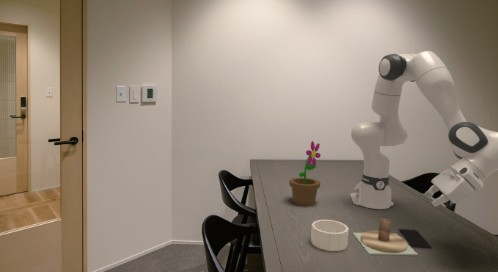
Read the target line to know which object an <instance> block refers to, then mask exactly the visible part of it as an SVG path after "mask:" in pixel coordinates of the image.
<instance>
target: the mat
mask: <svg viewBox="0 0 498 272" xmlns="http://www.w3.org/2000/svg"><path fill="white" fill-rule="evenodd" d="M362 233H363V232H352V235H353V236H354V237H355V238H357V239H356V240H357V242H358V243H361V244H360V245H361V246H362V248H363V247H364V248H363V249H364V250H365V252H366V253H367V254H368V255H372V256H373V255H374V256H375V255H376V256H417V257H418V255H419V254H418V252H416V251H415V249H414V248H411V247H410V246H409V245H408V244H407V249H406V250H405V251H403V252H399V253H388V252H382V251H378V250H374V249H372V248H369V247H368V246H366V245H364V244H363V243H362V242H361V234H362ZM392 233H393V232H392ZM393 234H395V235H398V234H397V233H393Z"/></svg>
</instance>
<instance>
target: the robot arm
mask: <svg viewBox="0 0 498 272" xmlns="http://www.w3.org/2000/svg"><path fill="white" fill-rule="evenodd" d="M378 72H379V74H378V77H377V80H376V83H375V86H374V91H373V95H372V96H373V97H372V101H371V109H372V111H373V113H375V114H377V115H378V116H379V121H372V122H371V121H365V122H360V123H356V124H354V125H353V127H352V129H351V133H350V135H351V139H352V142H353V143H354V144H355V145H357V147H359V149H360V150H361V153H362V157H363V173H362V175H361V179H360V181H359V183H357V184H356V186H355V187H353V189H352V190H353V192H352V193H350V194H349V195H350V198H351V201H352V203H353V204H354V205H355V206H360V207H365V208H369V209H375V210H387V209H389V208H390V207H392V206H394V204H395V203H394V202H393V201H392V188H391V186H389V185H390V176H389V175H390V165H391V164H390V163H391V162H390V159H389V158H388V157H387V156H386V155H385V154H384V153H382V152H381V147H394V146H395V147H396V146H400V145H403V144H405V142H406V140H407V138H408V131H407V130H408V129H407V128H406V126H405V125H404V124H403V123H402V122H401V120H400V117H399V108H400V107H399V106H400V100H401V95H402V91H403V90H402V89H403V86H404V84H405V83H406V82H411V83H413V82H415V83H416V85H417V88H418V89H419V91H420V92H421V93H422V95H423V96H424V97H425V98H426V100H427V101H428V102H429V104H431V106H432V107H433V108H434V109H435V111H437V113H438V114H439V115H440V116H441V119H442V120H443V121H444V124H445V126H446V128H447V130H448V141H449V144H450V145H451V148H452V150H453V154H454V155H455V157H456V158H457V159H458V160H457V161H456V162H455V163H454V164H452V165H451V166H450V167H451V169H450V168H448V169H446V170H444V171H442V172H441V173H439V174H438V175H436V176H434V178H432V179H431V181H430V182H431V183H432V184H433V185H431V186H430V187H429V189H428V190H427V191H425V193H424V196H425V197H426V198H427V199H430V198H432V197H433V196H434V194H435V193H437V192H439V191H440V192H441V193H442V194H441V195H440V196H438V197H437V198H433V199H432V200H431V201H430V203H431V204H432V205H433V206H434V207H436V208H438V207H439V206H440V205H442V204H445V203H448V202H449V201H450V202H452V203H453V204H455V205H456V204H458V203H461V202H462V201H464V200H465V199H467V198H469V197H470V196H471V195H473V194H475V192H479V191H481V190H483V189H484V188H485V187H484V186H485V185H484V181H485V180H486V179H488V178H489V176H490V175H492V174H493V173H494V172H495V173H496V172H497V171H498V131H493V130H489V129H487V128H483V127H481V126H479V125H477V124H476V123H473V122H472V121H471V122H470V121H467V120H466V118H465V116H464V115H463V112H462V111H461V108H460V105H459V101H458V96H457V92H456V91H457V90H456V88H455V87H456V86H455V82H454V79H453V77H452V74H451V73H450V71H449V69H448V68H447V65H445V64H444V61H443V60H442V59H441V58H440V57H439V56H438V55H437V54H436V53H435V52H434V51H431V50H424V51H420V52H419V53H411V52H410V53H409V52H408V53H391V54H386V55H385V56H383V57H382V58H381V60H380V62H379V64H378Z"/></svg>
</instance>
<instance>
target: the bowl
mask: <svg viewBox="0 0 498 272" xmlns="http://www.w3.org/2000/svg"><path fill="white" fill-rule="evenodd" d="M349 229H350V228H349V227H348V226H347V224H345V223H342V222H340V221H337V220H332V219H318V220H314V221H313V222H312V223H311V232H310V242H311V244H312V245H313V246H314V247H316V248H317V249H319V250H324V251H327V252H341V251H344V250H346V249H347V247H348V246H349V245H348V244H349Z"/></svg>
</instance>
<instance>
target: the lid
mask: <svg viewBox="0 0 498 272" xmlns="http://www.w3.org/2000/svg"><path fill="white" fill-rule="evenodd" d="M378 221H379V223H378V230H367V231H364V232H361V233H362V234H361V242H362V243H363V244H364V245H366V246H368V247H369V248H372V249H374V250H378V251H382V252H388V253H399V252H403V251H405V250H406V249H407V242H406V240H405V239H403V237H402V236H401V235H398V234H397V235H395V234H393V232H391V223H392V220H391V219H389V218H385V217H382V218H379V220H378Z"/></svg>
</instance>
